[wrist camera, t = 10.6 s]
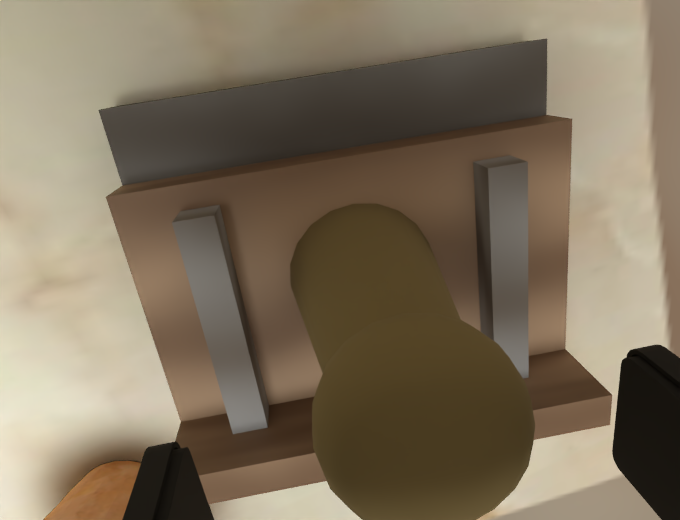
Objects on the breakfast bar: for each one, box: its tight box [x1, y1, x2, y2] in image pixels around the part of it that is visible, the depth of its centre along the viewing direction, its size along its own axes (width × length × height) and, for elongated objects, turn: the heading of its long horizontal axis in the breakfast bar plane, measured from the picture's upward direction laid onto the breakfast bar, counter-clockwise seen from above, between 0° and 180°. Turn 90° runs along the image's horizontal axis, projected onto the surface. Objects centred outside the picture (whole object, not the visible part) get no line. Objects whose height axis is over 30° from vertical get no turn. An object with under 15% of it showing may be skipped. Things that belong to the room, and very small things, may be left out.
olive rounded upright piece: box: [290, 204, 535, 520], centre depth 15 cm, size 6×6×11 cm
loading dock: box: [99, 39, 612, 504], centre depth 20 cm, size 15×18×8 cm
